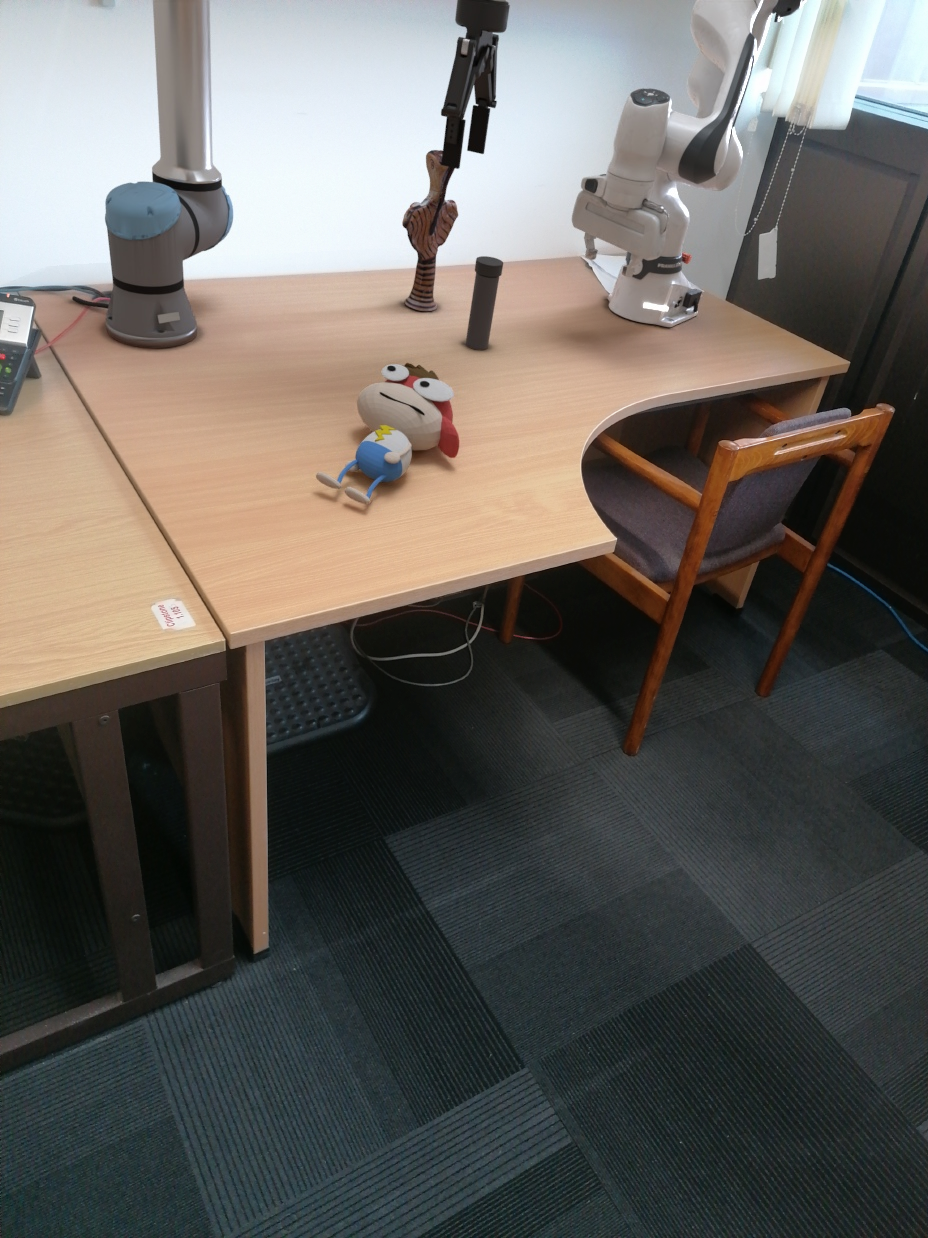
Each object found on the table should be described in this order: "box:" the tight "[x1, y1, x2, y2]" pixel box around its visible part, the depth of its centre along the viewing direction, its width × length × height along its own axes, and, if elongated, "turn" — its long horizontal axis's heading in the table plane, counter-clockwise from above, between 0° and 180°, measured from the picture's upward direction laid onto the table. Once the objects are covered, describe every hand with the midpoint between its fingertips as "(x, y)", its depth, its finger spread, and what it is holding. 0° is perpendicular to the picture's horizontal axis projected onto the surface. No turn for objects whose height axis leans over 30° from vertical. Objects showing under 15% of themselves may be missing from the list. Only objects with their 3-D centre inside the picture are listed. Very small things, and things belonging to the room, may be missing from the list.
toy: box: [315, 362, 460, 505], centre depth 132 cm, size 18×10×30 cm
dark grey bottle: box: [465, 272, 500, 351], centre depth 170 cm, size 4×4×16 cm
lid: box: [474, 255, 504, 278], centre depth 165 cm, size 5×5×2 cm
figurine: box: [401, 149, 459, 312], centre depth 178 cm, size 15×8×30 cm, turn 144°
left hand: (463, 159), depth 139 cm, fingers open, 13 cm apart
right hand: (608, 266), depth 172 cm, fingers open, 8 cm apart
